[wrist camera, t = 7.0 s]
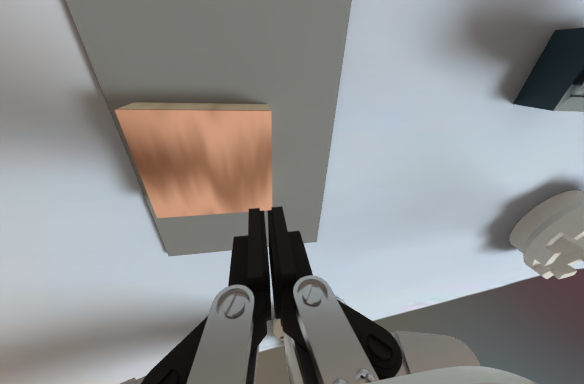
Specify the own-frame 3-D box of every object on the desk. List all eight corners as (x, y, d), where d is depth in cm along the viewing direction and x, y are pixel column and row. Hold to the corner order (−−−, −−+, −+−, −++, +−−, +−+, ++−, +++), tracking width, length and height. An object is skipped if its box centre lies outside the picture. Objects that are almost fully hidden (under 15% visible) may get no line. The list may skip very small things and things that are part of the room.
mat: (315, 238, 25) (316, 241, 24) (170, 252, 22) (168, 256, 22) (350, -16, 13) (354, -18, 13) (51, -51, 10) (43, -55, 10)
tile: (272, 210, 18) (156, 218, 16) (270, 194, 20) (167, 200, 18) (271, 111, 13) (114, 109, 12) (268, 104, 16) (134, 102, 14)
